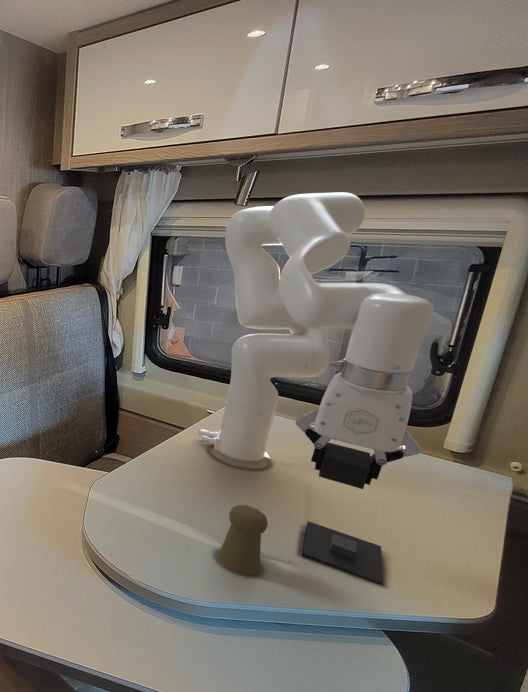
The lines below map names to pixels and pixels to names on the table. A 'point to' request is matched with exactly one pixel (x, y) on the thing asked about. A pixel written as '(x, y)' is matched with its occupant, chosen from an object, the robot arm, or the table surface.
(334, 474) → the pad
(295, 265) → the robot arm
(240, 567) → the cork
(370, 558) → the base pad
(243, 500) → the table surface
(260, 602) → the table surface
